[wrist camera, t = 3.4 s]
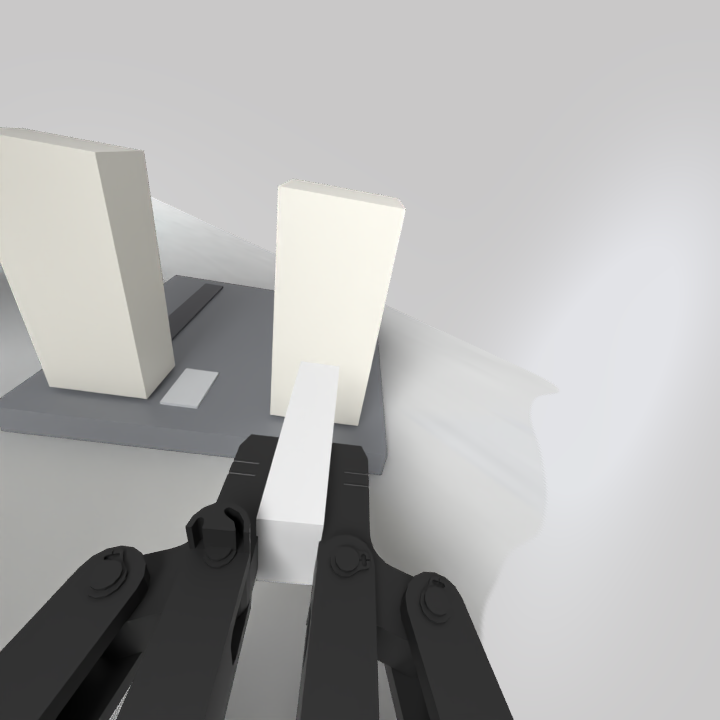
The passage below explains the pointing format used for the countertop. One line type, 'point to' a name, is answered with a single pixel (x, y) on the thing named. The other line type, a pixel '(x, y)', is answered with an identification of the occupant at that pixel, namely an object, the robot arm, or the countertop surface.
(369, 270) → the cream white tall block
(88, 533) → the countertop surface
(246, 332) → the switch panel
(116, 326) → the block
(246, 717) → the countertop surface
